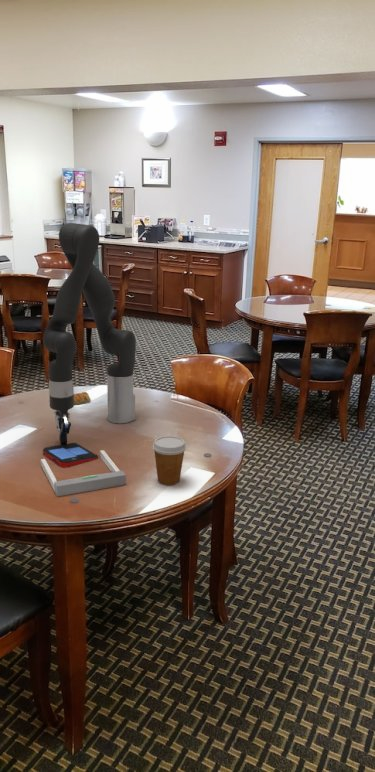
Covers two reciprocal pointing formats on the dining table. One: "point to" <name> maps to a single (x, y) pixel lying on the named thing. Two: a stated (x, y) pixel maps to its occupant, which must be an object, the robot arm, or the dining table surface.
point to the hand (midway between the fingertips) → (63, 443)
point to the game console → (69, 454)
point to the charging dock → (86, 479)
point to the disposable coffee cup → (169, 459)
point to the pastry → (81, 398)
